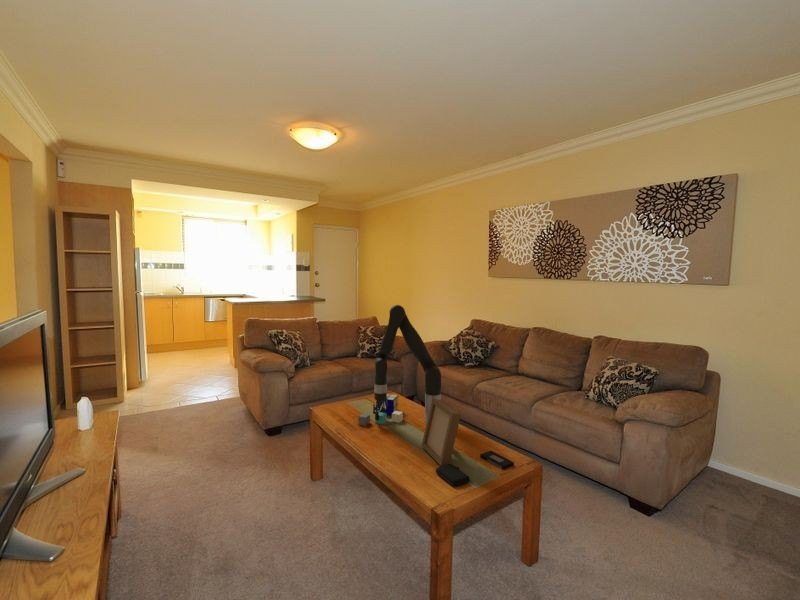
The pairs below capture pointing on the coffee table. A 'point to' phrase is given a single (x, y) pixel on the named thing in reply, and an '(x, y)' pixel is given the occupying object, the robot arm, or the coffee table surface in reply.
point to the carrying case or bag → (452, 475)
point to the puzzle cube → (391, 404)
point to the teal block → (382, 418)
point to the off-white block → (397, 416)
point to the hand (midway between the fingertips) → (380, 417)
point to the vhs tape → (497, 460)
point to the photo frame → (441, 431)
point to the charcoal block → (364, 419)
